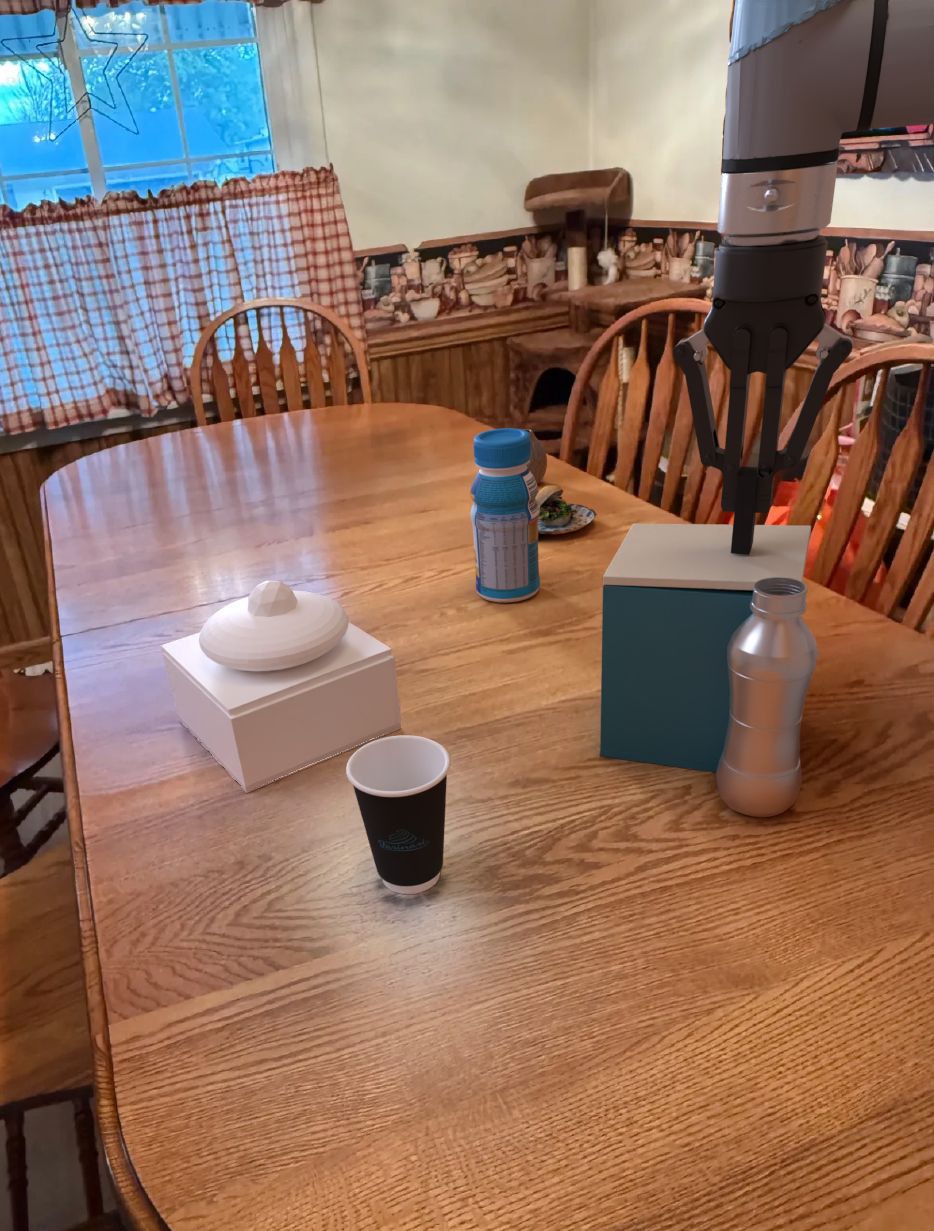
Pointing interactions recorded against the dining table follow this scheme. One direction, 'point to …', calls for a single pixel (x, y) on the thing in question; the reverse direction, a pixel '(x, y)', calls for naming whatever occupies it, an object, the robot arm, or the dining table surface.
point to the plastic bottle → (767, 700)
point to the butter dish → (281, 684)
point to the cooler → (667, 673)
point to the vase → (537, 458)
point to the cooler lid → (706, 556)
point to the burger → (560, 512)
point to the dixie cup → (403, 808)
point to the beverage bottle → (505, 517)
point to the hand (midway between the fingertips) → (741, 547)
